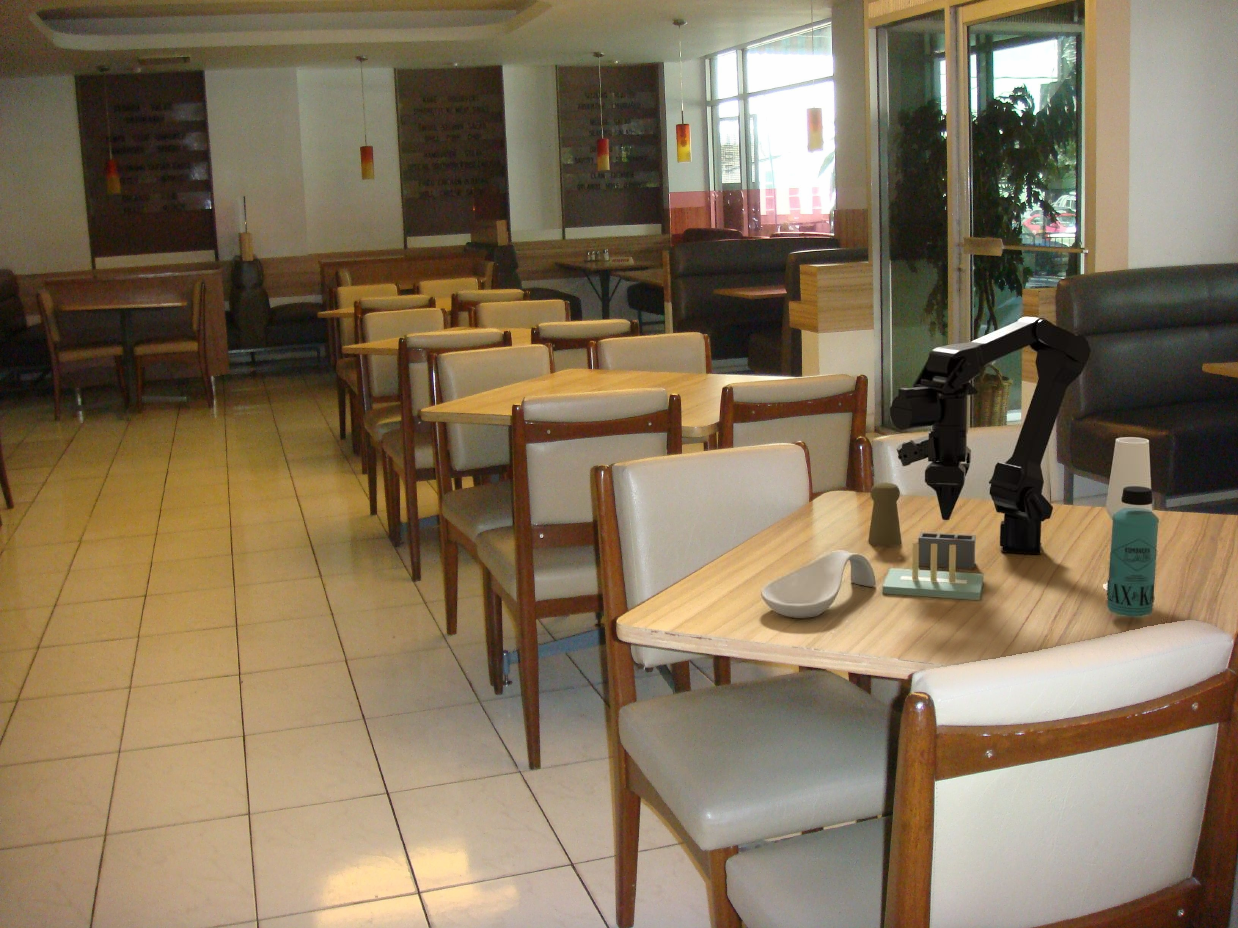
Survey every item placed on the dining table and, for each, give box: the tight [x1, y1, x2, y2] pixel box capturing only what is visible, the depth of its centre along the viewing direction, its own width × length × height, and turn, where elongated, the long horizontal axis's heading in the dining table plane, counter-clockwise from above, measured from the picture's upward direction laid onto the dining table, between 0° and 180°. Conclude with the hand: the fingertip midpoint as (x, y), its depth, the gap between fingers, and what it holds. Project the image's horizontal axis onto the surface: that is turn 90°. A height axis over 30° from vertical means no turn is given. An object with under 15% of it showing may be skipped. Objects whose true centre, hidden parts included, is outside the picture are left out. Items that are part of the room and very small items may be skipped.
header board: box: [881, 542, 984, 601], centre depth 195 cm, size 15×10×7 cm, turn 70°
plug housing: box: [917, 531, 977, 570], centre depth 207 cm, size 9×4×5 cm, turn 70°
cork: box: [867, 482, 903, 547], centre depth 222 cm, size 6×6×11 cm
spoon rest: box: [760, 549, 877, 619], centre depth 190 cm, size 24×12×7 cm, turn 136°
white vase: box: [1102, 436, 1153, 591], centre depth 189 cm, size 7×7×24 cm
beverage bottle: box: [1105, 486, 1160, 617], centre depth 176 cm, size 6×7×20 cm
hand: (947, 512), depth 206 cm, fingers open, 9 cm apart
